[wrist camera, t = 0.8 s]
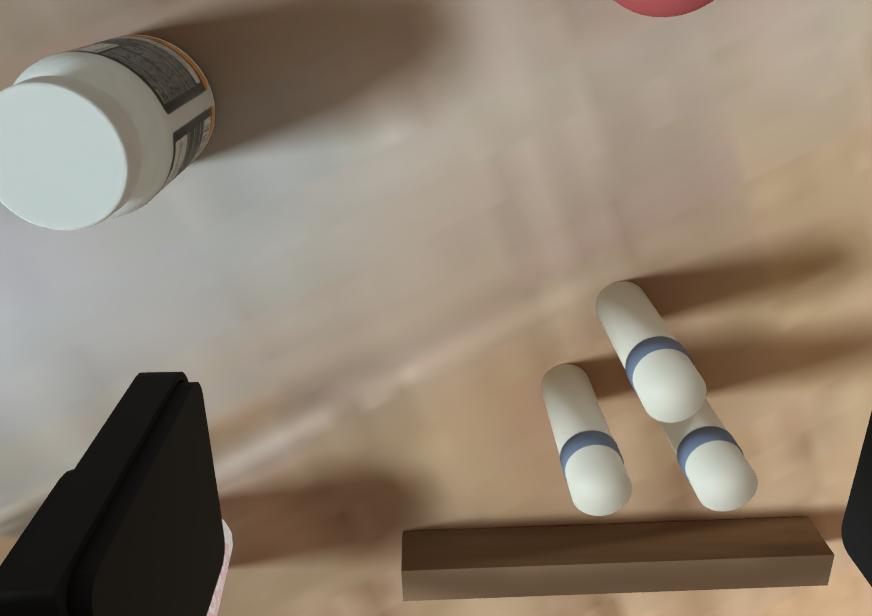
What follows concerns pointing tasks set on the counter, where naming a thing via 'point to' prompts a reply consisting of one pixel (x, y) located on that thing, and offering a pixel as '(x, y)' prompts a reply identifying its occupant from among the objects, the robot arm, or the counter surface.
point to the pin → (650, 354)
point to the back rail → (613, 558)
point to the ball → (663, 6)
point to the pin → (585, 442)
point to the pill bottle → (100, 130)
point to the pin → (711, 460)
